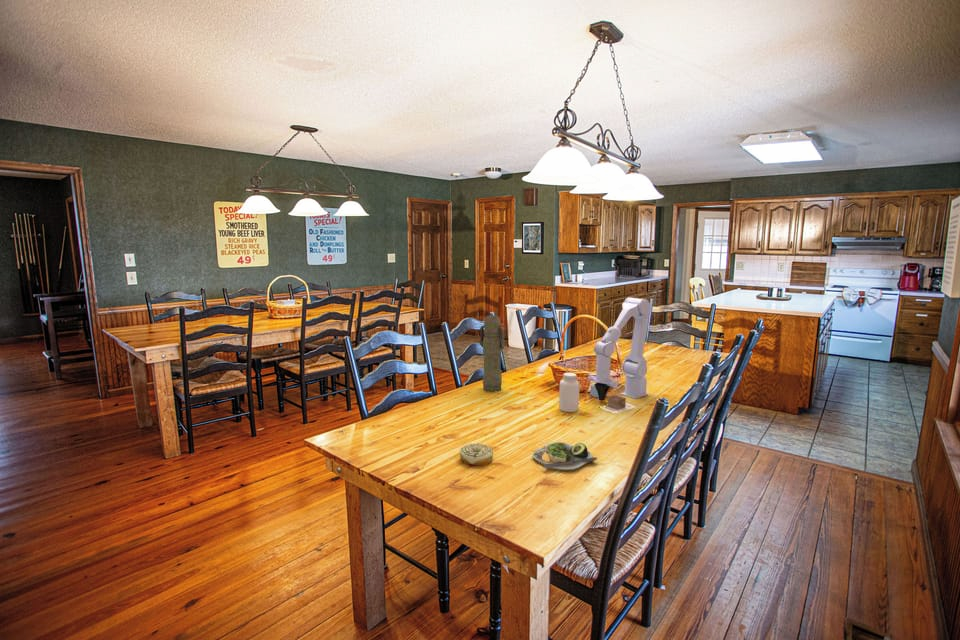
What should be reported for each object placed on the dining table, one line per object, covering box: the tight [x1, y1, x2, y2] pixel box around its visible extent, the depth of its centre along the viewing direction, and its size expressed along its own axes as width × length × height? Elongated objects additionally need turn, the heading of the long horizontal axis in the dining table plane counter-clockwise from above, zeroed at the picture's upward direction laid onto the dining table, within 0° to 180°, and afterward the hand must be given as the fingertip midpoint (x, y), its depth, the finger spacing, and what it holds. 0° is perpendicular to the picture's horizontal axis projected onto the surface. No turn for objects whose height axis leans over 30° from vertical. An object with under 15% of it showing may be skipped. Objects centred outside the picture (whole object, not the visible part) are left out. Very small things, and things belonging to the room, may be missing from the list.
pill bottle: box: [558, 372, 580, 413], centre depth 193 cm, size 8×8×15 cm
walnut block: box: [607, 394, 627, 410], centre depth 196 cm, size 5×5×4 cm
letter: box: [596, 402, 637, 415], centre depth 196 cm, size 14×10×1 cm
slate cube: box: [589, 384, 608, 399], centre depth 210 cm, size 5×5×5 cm
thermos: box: [479, 314, 505, 393], centre depth 219 cm, size 9×12×35 cm
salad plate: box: [532, 441, 598, 471], centre depth 148 cm, size 19×18×5 cm
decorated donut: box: [459, 443, 494, 466], centre depth 149 cm, size 10×11×4 cm
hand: (601, 399), depth 202 cm, fingers closed
